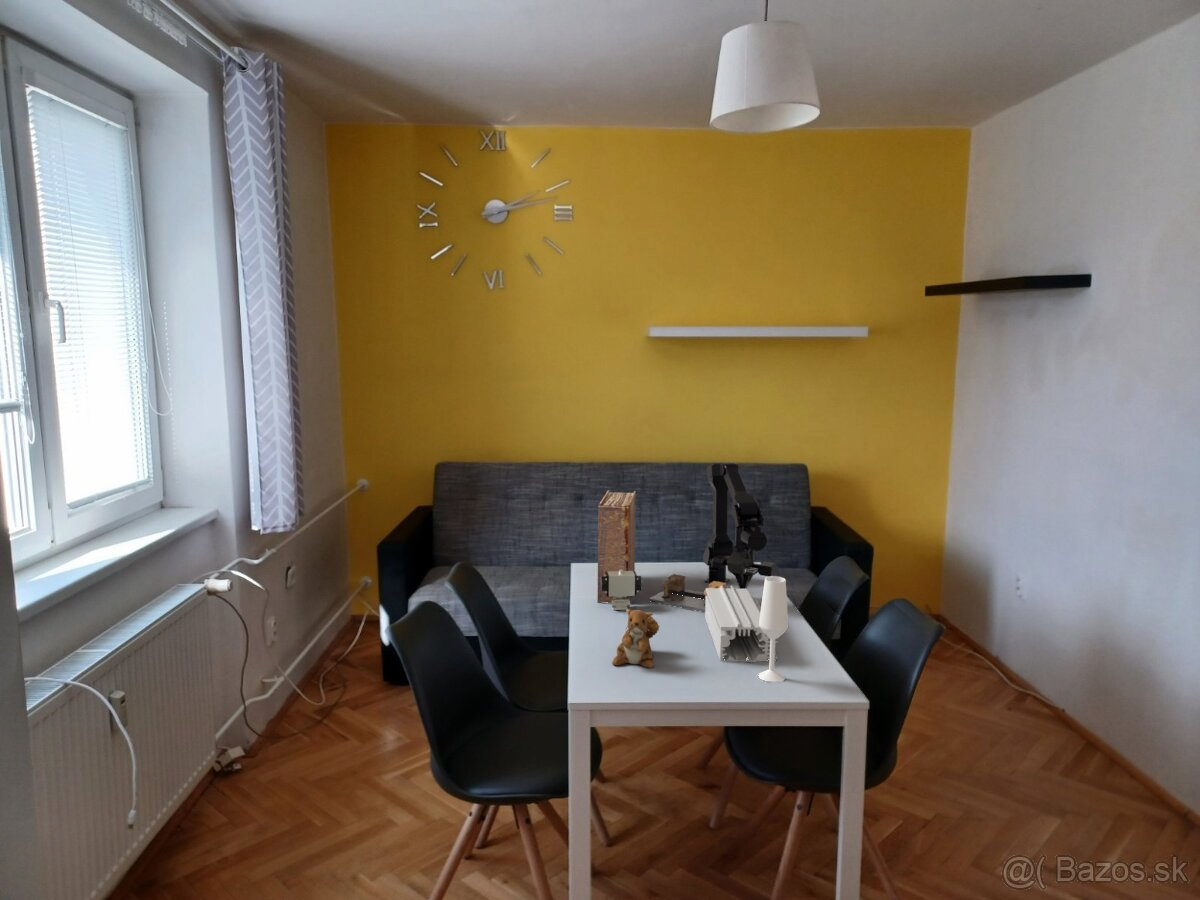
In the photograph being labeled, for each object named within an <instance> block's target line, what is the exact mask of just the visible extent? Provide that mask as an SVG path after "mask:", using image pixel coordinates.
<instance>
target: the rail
mask: <svg viewBox="0 0 1200 900" xmlns="http://www.w3.org/2000/svg"><path fill="white" fill-rule="evenodd" d="M668 593H673V594H678V595H683V596H688V597H695V598H701V599H704V600H705V597H706V594H704V592H702V591H696V590H689V589H686V588H685V589H683V590H681V591H680V592H678V591H673V590H668Z"/></svg>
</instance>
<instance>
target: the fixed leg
mask: <svg viewBox="0 0 1200 900" xmlns="http://www.w3.org/2000/svg"><path fill="white" fill-rule="evenodd" d="M661 587H663V592H664V596H668V590H673V591H678V592H680V591H681V590H683V589H685V590H686V575H682V574H676V573H673V574H671V575H668V577H667V580H665V581H664V582H662V583H661Z"/></svg>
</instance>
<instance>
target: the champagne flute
mask: <svg viewBox="0 0 1200 900" xmlns="http://www.w3.org/2000/svg"><path fill="white" fill-rule="evenodd" d="M787 597H788V595H787V580H786V579H785V577H782V576H776V575H772V576H769V577H768V576H765V578H764V584H763V591H762V597H761V605H760V606H761V611H760V619H759V626H760V628H761V630H762V631H763V632H764V633H765V634H766V635H767V636H768V637H769V638H770V660H769V662H768V664H769V665H768V669H766V670H764V671H761V672H759V673H758V674H759V675H758V674H757V675H758V676H759V678H760V679H762V680H765V681H773V682H774V681H775V682H776V681H781V680H782V679H784V676H785V675H783V674H782V673H781V672H778V671H777V670H776V669H775V662H774V661H775V653H776V647H775V645H776V643H775V639H776V638H778V639H779V637H781V636H782V635H783V634H784V633H785V632H786V631H787V629H788V627H789V619H788V618H789V617H788V614H789V613H788V598H787Z"/></svg>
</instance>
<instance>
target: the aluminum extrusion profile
mask: <svg viewBox="0 0 1200 900" xmlns="http://www.w3.org/2000/svg"><path fill="white" fill-rule="evenodd" d="M705 590H706V593H707V596H706V597H705V598H706V599H705V600H706V601H705V602H706V603H705V613H704V614H705V615H704V619H705V621H706V625H707V627H708V630H709V632H710V636H711V639H712V642H713V643H714V647H715V650H716V653H717V655H718V659H719V661H720V662H757V661H767V660H768V659H770V638H769V637H768V636H767V635H766V634H765V633H764V632H763V631H762V630H761V628H760V626H759V619H760V611H761V605H760V603H759V601H758V600H757V598H756V597H755V596H753V597H752V596H751V594H750V592H749V590H748V588H747V589H740V588H734V586H733V585H730V588H727V587H726V588H723V586H720V588H709V587H705ZM778 640H779V637H778V638H776V639H775V648H776V647H777V645H776V643H777V644H778V643H779V641H778ZM723 657H724V658H723ZM747 657H748V659H749V661H748V660H747V661H746V658H747ZM775 658H776V660H777V659H778V656H777V654H776V652H775ZM724 659H725V661H724ZM768 661H769V660H768Z"/></svg>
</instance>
